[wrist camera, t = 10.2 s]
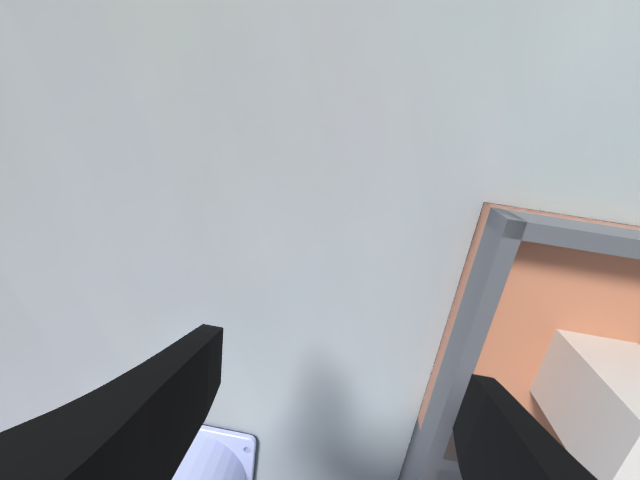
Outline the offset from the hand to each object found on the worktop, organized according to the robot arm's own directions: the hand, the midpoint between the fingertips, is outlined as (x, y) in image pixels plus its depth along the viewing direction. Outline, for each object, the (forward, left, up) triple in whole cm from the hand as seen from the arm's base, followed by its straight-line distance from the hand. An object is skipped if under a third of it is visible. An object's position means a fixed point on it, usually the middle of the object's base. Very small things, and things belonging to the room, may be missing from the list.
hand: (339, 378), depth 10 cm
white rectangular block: (-4, -13, -8) cm, 16 cm away
